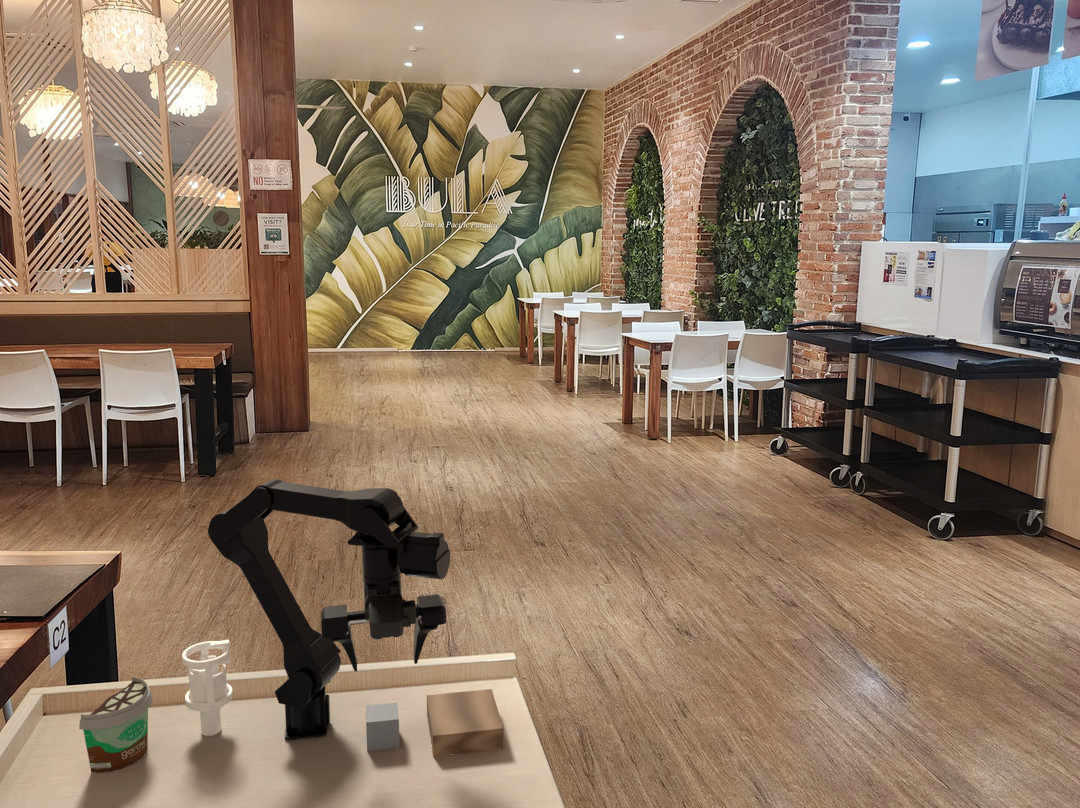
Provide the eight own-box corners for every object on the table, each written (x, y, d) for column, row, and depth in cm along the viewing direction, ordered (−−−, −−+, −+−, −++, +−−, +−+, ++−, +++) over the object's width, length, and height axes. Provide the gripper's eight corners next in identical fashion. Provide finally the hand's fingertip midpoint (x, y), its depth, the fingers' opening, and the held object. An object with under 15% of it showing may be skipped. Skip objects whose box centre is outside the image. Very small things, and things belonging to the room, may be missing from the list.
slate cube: (367, 751, 133) (366, 722, 132) (366, 733, 138) (365, 705, 137) (399, 748, 134) (398, 719, 133) (397, 730, 139) (397, 702, 138)
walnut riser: (433, 759, 132) (432, 735, 131) (427, 717, 143) (426, 695, 143) (503, 751, 134) (503, 728, 133) (491, 710, 146) (491, 688, 145)
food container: (121, 784, 124) (115, 721, 122) (84, 778, 125) (78, 716, 123) (173, 736, 136) (168, 679, 134) (138, 731, 137) (134, 674, 135)
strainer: (237, 736, 136) (231, 649, 133) (189, 747, 133) (183, 658, 130) (231, 714, 142) (226, 631, 139) (186, 724, 139) (180, 639, 136)
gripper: (319, 600, 120) (325, 701, 123) (450, 585, 125) (453, 683, 128) (318, 571, 131) (324, 664, 134) (439, 559, 135) (442, 650, 138)
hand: (385, 666), depth 133 cm, fingers open, 9 cm apart
